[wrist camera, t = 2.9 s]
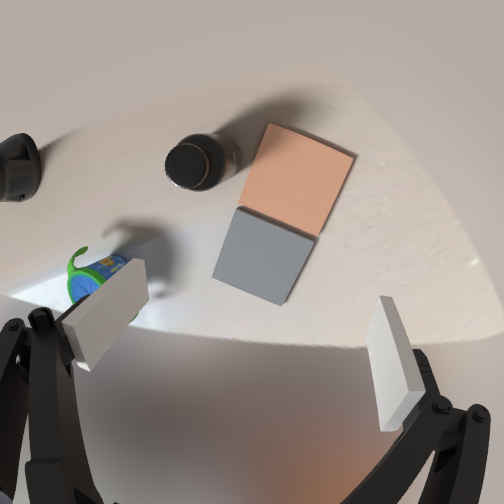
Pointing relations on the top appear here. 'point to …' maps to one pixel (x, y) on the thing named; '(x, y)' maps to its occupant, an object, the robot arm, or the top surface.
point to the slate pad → (261, 257)
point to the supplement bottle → (202, 161)
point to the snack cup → (91, 275)
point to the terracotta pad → (295, 179)
